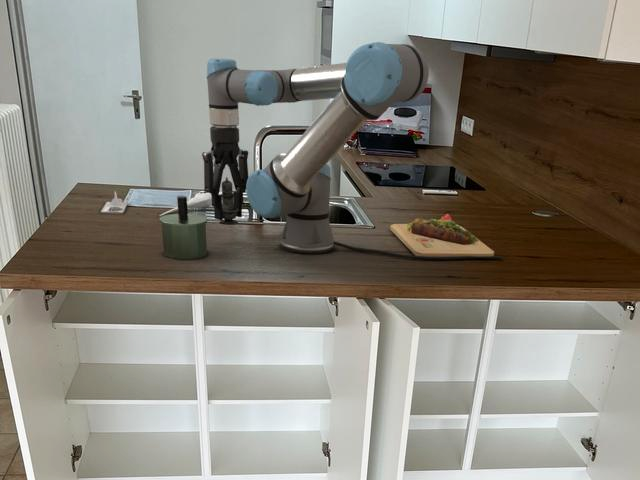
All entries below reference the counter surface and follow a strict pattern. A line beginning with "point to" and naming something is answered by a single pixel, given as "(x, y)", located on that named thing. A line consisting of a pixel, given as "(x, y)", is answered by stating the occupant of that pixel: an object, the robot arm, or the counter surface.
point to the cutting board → (439, 238)
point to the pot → (184, 241)
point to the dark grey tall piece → (228, 204)
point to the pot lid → (182, 216)
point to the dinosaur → (197, 201)
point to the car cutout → (114, 206)
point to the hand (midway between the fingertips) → (228, 217)
